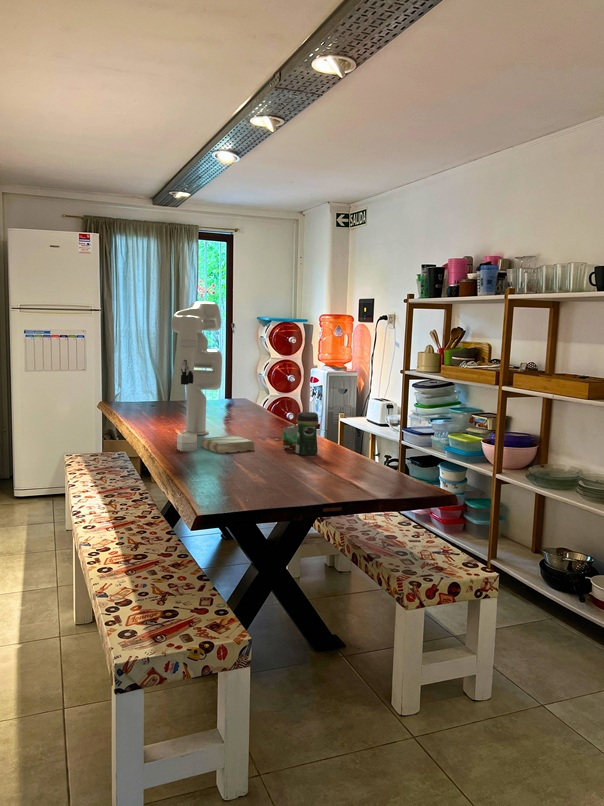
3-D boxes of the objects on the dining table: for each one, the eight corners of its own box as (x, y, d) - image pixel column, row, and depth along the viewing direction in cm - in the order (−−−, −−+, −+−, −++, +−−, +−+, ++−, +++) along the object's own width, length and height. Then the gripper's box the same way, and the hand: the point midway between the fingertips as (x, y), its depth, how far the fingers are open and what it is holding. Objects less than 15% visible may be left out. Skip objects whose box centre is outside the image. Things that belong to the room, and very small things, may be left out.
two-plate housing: (176, 449, 286) (177, 433, 285) (191, 448, 290) (191, 432, 289) (181, 451, 282) (182, 435, 281) (196, 450, 286) (197, 434, 285)
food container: (295, 450, 294) (296, 428, 293) (282, 449, 295) (283, 427, 294) (301, 445, 306) (302, 424, 305) (288, 444, 307) (289, 423, 306)
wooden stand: (201, 446, 294) (201, 438, 294) (236, 443, 304) (236, 435, 304) (218, 453, 281) (218, 444, 281) (254, 450, 292) (254, 441, 291)
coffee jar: (314, 451, 293) (316, 410, 291) (319, 455, 286) (321, 413, 284) (293, 452, 291) (295, 410, 289) (297, 455, 283) (299, 413, 281)
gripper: (184, 344, 293) (183, 382, 294) (174, 344, 276) (173, 384, 277) (200, 345, 292) (199, 383, 294) (192, 344, 275) (191, 385, 277)
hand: (187, 383), depth 285 cm, fingers open, 9 cm apart
